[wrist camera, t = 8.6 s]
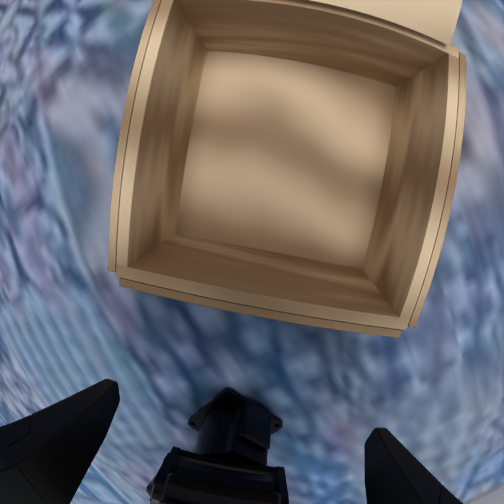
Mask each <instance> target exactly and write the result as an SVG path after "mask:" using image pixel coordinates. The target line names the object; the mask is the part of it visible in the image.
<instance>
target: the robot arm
mask: <svg viewBox="0 0 504 504" xmlns="http://www.w3.org/2000/svg"><path fill="white" fill-rule="evenodd" d="M227 394H230V395H227ZM119 401H120V396H119V388H118V383H117V382H116V381H113V380H110V379H104V380H102V381H100V382H98V383H96V384H94V385H92V386H90V387H88V388H86V389H84V390H82V391H80V392H78V393H76V394H74V395H72V396H70V397H68V398H66V399H63V400H61V401H59V402H57V403H55V404H53V405H51V406H49V407H46V408H44V409H42V410H40V411H38V412H36V413H34V414H32V416H31V415H29V416H27V417H25V418H22V419H20V420H17V421H15V422H13V423H10V424H7V425H4V426H1V427H0V504H70V503H71V501H72V499H73V497H74V495H75V493H76V491H77V489H78V487H79V485H80V483H81V481H82V480H83V478H84V476H85V474H86V472H87V470H88V468H89V466H90V465H91V463H92V461H93V459H94V457H95V455H96V454H97V452H98V450H99V448H100V446H101V444H102V443H103V441H104V439H105V437H106V435H107V432H108V430H109V427H110V425H111V422H112V420H113V417H114V415H115V412H116V410H117V407H118V405H119ZM193 422H194V423H193ZM188 425H189V426H191V427H192V428H194V429H196V430H197V431H199V434H198V438H197V441H196V444H195V448H194V451H193V452H189V451H185V450H181V449H180V448H177V447H174V446H173V448H172V450H171V452H170V453H168V454H167V456H166V457H165V458H164V461H163V463H162V465H161V467H160V469H159V471H158V473H157V475H156V476H155V477H154V478H153V479H152V481H151V482H150V483H149V484H148V486H147V490H146V491H147V493H148V494H149V496H150V502H151V504H289V498H288V491H287V484H286V477H285V470H284V467H279V466H277V467H270V466H267V453H268V449H269V448H270V435H271V434H273V433H274V432H276V431H277V430H279V429H280V428H281V427H282V426H283V422H282V420H280V419H278V418H277V417H275V416H273V415H272V414H270V413H269V412H267V411H265V410H264V409H262V408H260V407H259V406H257V405H256V404H254V403H252V402H251V401H249V400H247V399H246V398H244V397H243V396H241V395H240V394H238V393H237V392H235V391H233V390H232V389H225V390H223V391H222V392H221V393H220V394H219V395H217V396H216V397H215V398H214V399H213V400H211V401H210V402H209V403H208V404H207V405H205V406H204V407H203V408H202V409H201V410H199V411H198V412H197V413H196V414H194V415H193V416H192V417H191V418H189V420H188ZM365 488H366V497H367V504H463V503H462V502H461V501H460V500H458V499H457V498H456V497H455V496H454V495H453V494H452V493H451V492H449V491H448V490H447V489H446V488H445V487H444V486H443V485H442V484H441V483H440V482H439V481H438V480H437V479H436V478H435V477H434V476H433V475H432V474H431V473H430V472H429V471H428V470H427V469H426V468H425V467H424V466H423V465H422V464H421V463H420V462H419V461H418V460H417V459H416V458H415V457H414V456H413V455H412V454H411V453H410V452H409V451H408V450H407V449H406V448H405V447H404V446H403V445H402V444H401V443H400V442H399V441H398V440H397V439H396V438H395V437H394V436H393V435H392V434H391V433H390V431H389V430H388V429H386V428H375V429H374V430H373V431H372V433H371V434H370V436H369V437H368V439H367V440H366V443H365Z"/></svg>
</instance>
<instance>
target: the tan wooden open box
mask: <svg viewBox="0 0 504 504" xmlns="http://www.w3.org/2000/svg"><path fill="white" fill-rule="evenodd" d="M465 100H466V55H464V54H462V53H460V52H459V48H457V47H455V46H453V45H451V44H450V46H449V45H447V44H445V43H443V42H441V41H438V40H436V39H434V38H432V37H429V36H427V35H425V34H422V33H420V32H417V31H415V30H412V29H410V28H407V27H404V26H402V25H399V24H396V23H393V22H391V21H388V20H385V19H382V18H379V17H375V16H372V15H369V14H365V13H362V12H358V11H355V10H351V9H347V8H343V7H339V6H335V5H331V4H326V3H321V2H316V1H311V0H153V3H152V6H151V8H150V11H149V15H148V18H147V21H146V24H145V27H144V30H143V34H142V37H141V41H140V44H139V48H138V52H137V55H136V59H135V63H134V67H133V71H132V75H131V80H130V84H129V88H128V93H127V98H126V103H125V108H124V113H123V119H122V124H121V130H120V136H119V143H118V149H117V156H116V164H115V172H114V181H113V191H112V202H111V214H110V230H109V254H108V271H113V272H116V276H117V277H120V282H119V286H122V287H126V288H129V289H133V290H137V291H141V292H146V293H150V294H154V295H158V296H162V297H167V298H171V299H175V300H180V301H184V302H189V303H193V304H198V305H202V306H207V307H212V308H217V309H221V310H226V311H231V312H236V313H242V314H247V315H252V316H257V317H263V318H268V319H274V320H279V321H285V322H291V323H297V324H303V325H309V326H316V327H322V328H329V329H336V330H342V331H350V332H357V333H364V334H372V335H380V336H389V337H397V338H399V337H400V335H401V332H402V330H406V329H407V326H408V327H415V326H416V323H417V321H418V318H419V315H420V313H421V310H422V307H423V305H424V302H425V299H426V296H427V293H428V290H429V287H430V284H431V281H432V278H433V275H434V272H435V268H436V265H437V262H438V258H439V255H440V251H441V248H442V244H443V240H444V236H445V232H446V228H447V224H448V220H449V215H450V211H451V206H452V201H453V196H454V191H455V186H456V180H457V174H458V168H459V161H460V154H461V146H462V138H463V128H464V116H465Z"/></svg>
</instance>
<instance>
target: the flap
mask: <svg viewBox="0 0 504 504" xmlns="http://www.w3.org/2000/svg"><path fill="white" fill-rule="evenodd" d="M311 1H316V2H321V3H326V4H331V5H335V6H339V7H343V8H347V9H351V10H355V11H358V12H362V13H365V14H369V15H372V16H375V17H379V18H382V19H385V20H388V21H391V22H393V23H396V24H399V25H402V26H404V27H407V28H410V29H412V30H415V31H417V32H420V33H422V34H425V35H427V36H429V37H432V38H434V39H436V40H438V41H441V42H443V43H445V44H447V45H449V46H450V43H451V40H452V37H453V33H454V30H455V27H456V23H457V19H458V16H459V12H460V8H461V4H462V0H311Z"/></svg>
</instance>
